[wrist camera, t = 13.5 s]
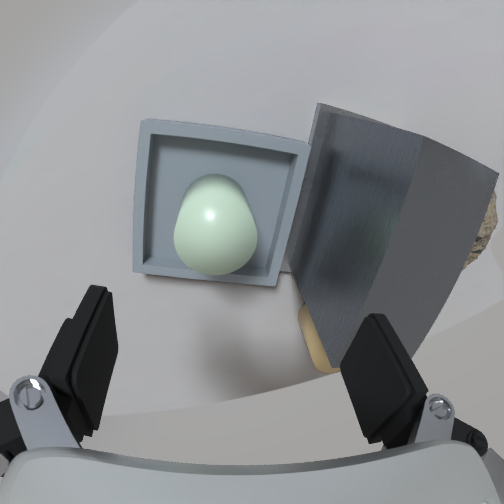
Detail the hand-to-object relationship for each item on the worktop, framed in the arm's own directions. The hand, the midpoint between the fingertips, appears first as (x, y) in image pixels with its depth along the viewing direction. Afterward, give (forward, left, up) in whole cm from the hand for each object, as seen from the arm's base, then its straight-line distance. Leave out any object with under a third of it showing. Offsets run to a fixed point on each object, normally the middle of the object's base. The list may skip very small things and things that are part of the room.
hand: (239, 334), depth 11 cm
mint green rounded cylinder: (+1, 0, -14) cm, 14 cm away
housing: (-9, -2, -15) cm, 17 cm away
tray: (+1, 0, -15) cm, 15 cm away
